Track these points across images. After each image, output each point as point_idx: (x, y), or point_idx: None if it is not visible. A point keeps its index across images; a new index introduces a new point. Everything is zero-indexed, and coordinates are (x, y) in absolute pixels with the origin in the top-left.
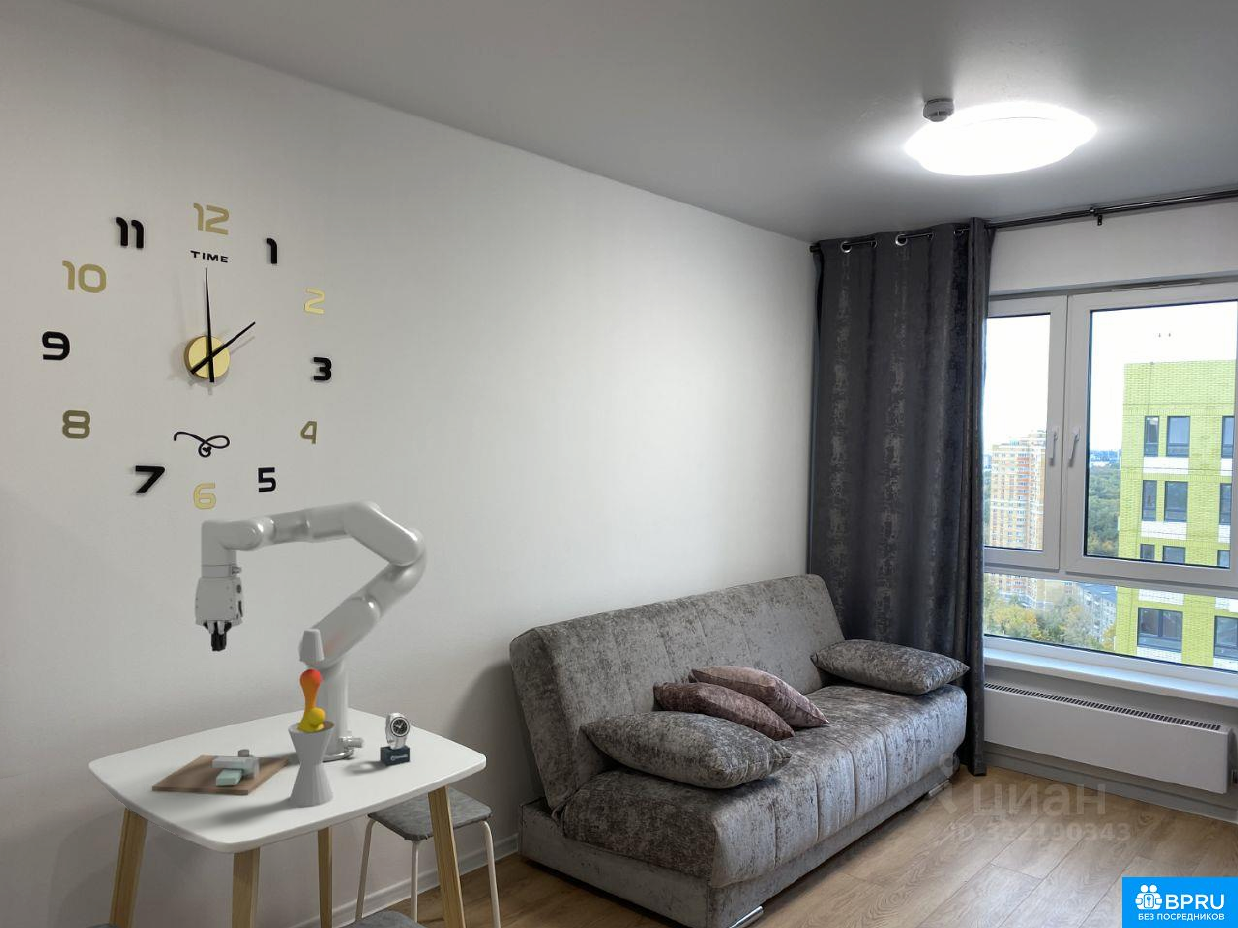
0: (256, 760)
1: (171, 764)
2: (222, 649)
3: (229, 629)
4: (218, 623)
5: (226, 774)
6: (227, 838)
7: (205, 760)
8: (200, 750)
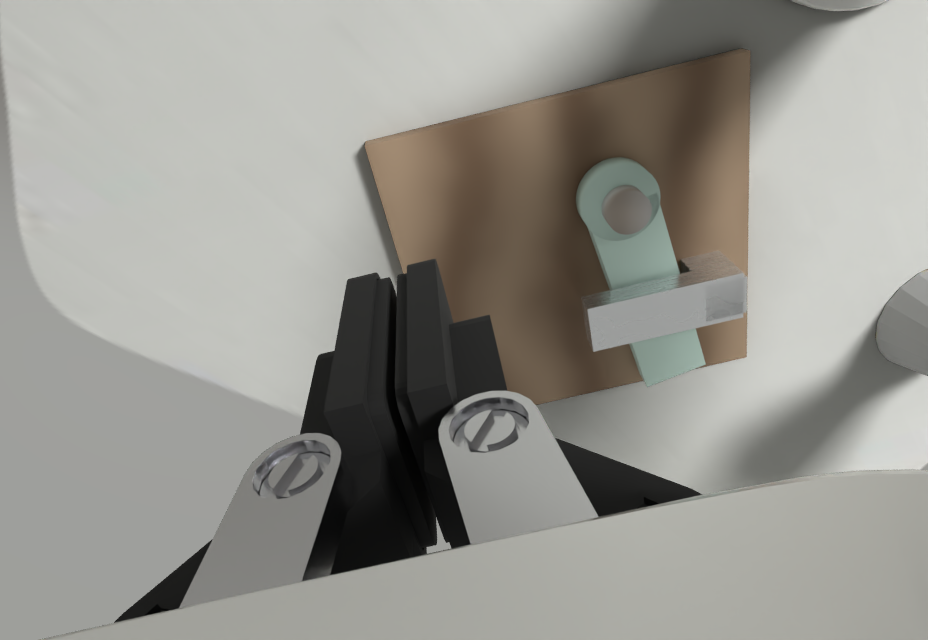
0: (745, 294)
1: (303, 227)
2: (451, 319)
3: (586, 455)
4: (311, 564)
5: (660, 352)
6: None
7: (430, 194)
8: (261, 41)
